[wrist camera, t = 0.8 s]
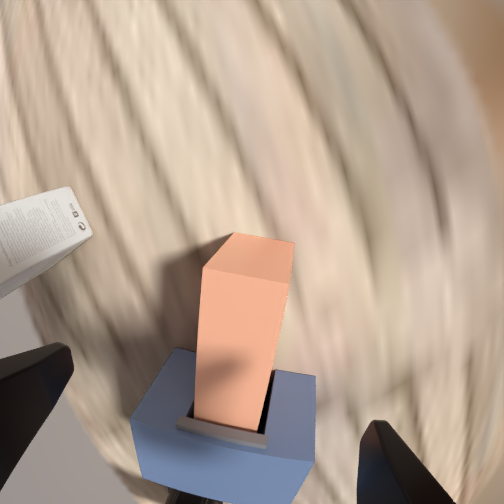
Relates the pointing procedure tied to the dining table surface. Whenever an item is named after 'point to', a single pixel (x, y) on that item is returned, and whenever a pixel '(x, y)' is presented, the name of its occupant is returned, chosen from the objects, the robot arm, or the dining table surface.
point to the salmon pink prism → (240, 328)
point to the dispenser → (225, 439)
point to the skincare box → (38, 235)
